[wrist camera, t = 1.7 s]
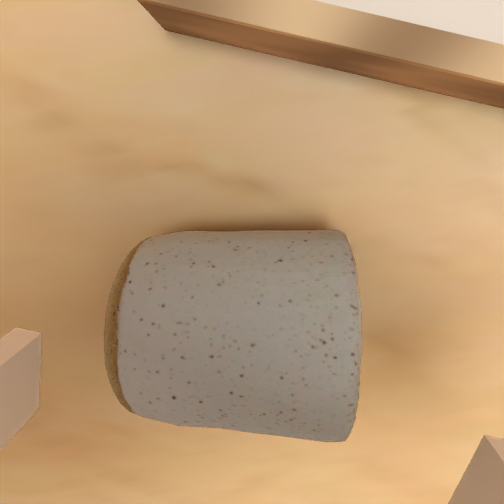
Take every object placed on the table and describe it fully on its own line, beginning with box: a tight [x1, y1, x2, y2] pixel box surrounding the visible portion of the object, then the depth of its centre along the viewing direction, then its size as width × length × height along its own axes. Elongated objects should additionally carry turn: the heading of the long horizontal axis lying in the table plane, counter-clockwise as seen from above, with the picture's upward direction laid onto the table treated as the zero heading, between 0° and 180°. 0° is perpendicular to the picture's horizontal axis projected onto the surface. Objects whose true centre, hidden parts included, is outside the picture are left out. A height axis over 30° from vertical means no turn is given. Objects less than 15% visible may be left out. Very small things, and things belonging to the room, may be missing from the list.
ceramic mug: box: [104, 230, 362, 442], centre depth 14 cm, size 11×8×8 cm
